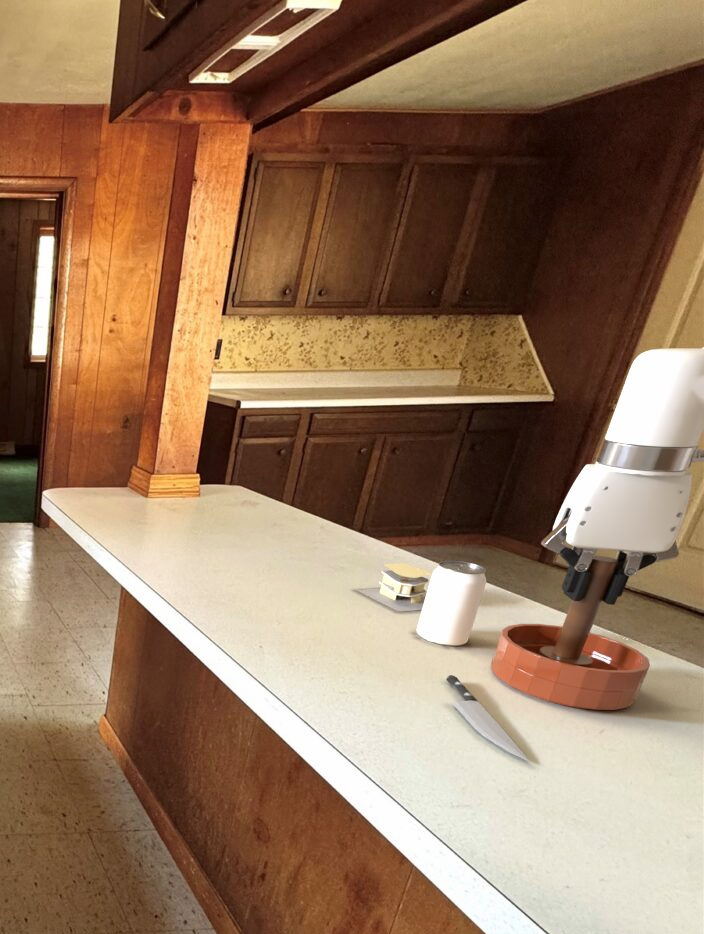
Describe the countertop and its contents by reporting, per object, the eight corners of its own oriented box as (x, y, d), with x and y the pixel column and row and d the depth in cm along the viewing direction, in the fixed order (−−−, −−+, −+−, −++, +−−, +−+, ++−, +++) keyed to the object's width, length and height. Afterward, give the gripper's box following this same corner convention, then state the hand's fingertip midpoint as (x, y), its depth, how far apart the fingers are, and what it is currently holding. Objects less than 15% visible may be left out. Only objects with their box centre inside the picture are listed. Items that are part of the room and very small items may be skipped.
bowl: (598, 669, 94) (613, 631, 92) (657, 722, 82) (676, 680, 79) (474, 654, 99) (486, 618, 97) (512, 702, 87) (527, 661, 85)
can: (422, 643, 103) (443, 571, 98) (410, 626, 108) (429, 557, 104) (473, 649, 100) (497, 576, 96) (458, 632, 106) (480, 561, 101)
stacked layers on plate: (355, 590, 123) (362, 562, 121) (400, 586, 124) (407, 559, 122) (398, 611, 114) (406, 582, 112) (446, 608, 114) (455, 578, 112)
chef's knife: (497, 761, 76) (529, 763, 75) (499, 752, 76) (531, 755, 75) (428, 678, 93) (453, 680, 92) (429, 671, 92) (455, 672, 92)
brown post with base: (578, 657, 90) (619, 554, 85) (597, 675, 86) (642, 567, 80) (530, 651, 92) (567, 550, 87) (547, 668, 88) (587, 563, 82)
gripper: (714, 455, 79) (654, 596, 86) (542, 449, 85) (498, 581, 92) (760, 468, 73) (690, 619, 79) (570, 460, 79) (521, 601, 85)
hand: (588, 597), depth 86 cm, fingers closed on brown post with base, 2 cm apart
